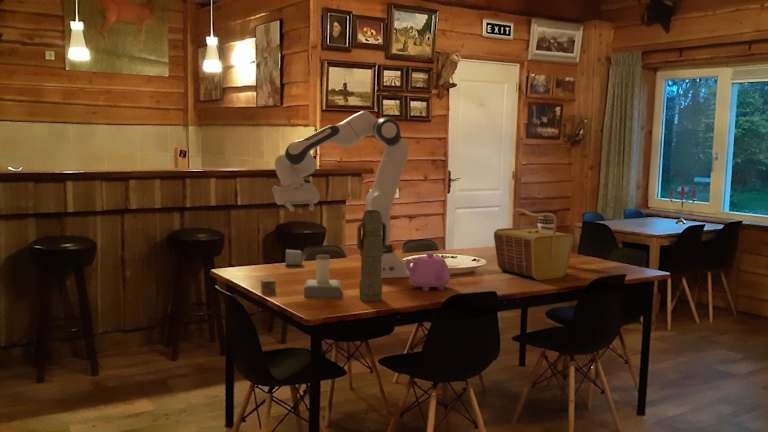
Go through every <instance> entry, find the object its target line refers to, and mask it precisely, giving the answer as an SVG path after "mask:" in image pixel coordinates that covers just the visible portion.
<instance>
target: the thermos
mask: <svg viewBox="0 0 768 432" xmlns="http://www.w3.org/2000/svg"><path fill="white" fill-rule="evenodd" d="M361 219H362V222H361V223H359V224H358V226H357V228H356V229H357V231H356V234H357V235H356V238H357V239H356V240H357V241H356V242H357V243H356V247H357V249H358V250H359V251H360V252H359V254H360V259H361V260H360V262H361V263H360V264H361V265H360V267H361V268H360V281H359V285H358V287H359V289H358V290H359V291H358V292H359V301H361V302H365V303H378V302H380V301H381V302H382V299H383V298H382V295H383V281H382V278H381V258H382V256H383V250H384V248H385V247H386V224H385V223H384V222H382V217H381V214H380V212H379V211H377V210H367V211H366V210H365V211H364V212H363V216H362V218H361ZM381 231H382V234H381Z"/></svg>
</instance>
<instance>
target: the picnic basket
mask: <svg viewBox="0 0 768 432" xmlns="http://www.w3.org/2000/svg"><path fill="white" fill-rule="evenodd" d="M517 212H523V213H524V214H525V215H526V216H529V217H534V218H538V217H543V216H545V215H549V216H552V217H553V218H554V222H553V224H554V226H553V231H547V230H542V229H537V227H536V228H535V227H532V226H520V227H519V226H518V227H517V225H516V224H517V222H516V221H517V219H516V215H517V214H516V213H517ZM557 222H558V221H557V216H556V215H555V214H553V213H550V212H542V213H533V212H530V211H527V210H526V209H523V208H515V209H514V210H513V213H512V227H506V228H497V229H496V230H494V232H493V240H494V247H495V255H496V262H497V266H498V269H499V270H501V271H503V272H508V273H509V272H510V273H513V274H517V275H521V276H524V277H525V276H526V277H528V278H529V277H530V278H532V279H534V280H537V281H543V280H551V279H558V278H559V279H560V278H563V277H564V276H565V275H566V274H567V273H568V268H569V264H570V259H571V255H572V249H573V245H574V240H575V237H574V235H573V234H571V233H562V232H557Z"/></svg>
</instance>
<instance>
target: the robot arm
mask: <svg viewBox="0 0 768 432" xmlns="http://www.w3.org/2000/svg"><path fill="white" fill-rule="evenodd" d="M368 136H372V137H373V138H374V139H376V141H379V142H381V143H383V144H384V151H383V154H382V157H381V159H380V162H379V164H378V168H377V171H376V173H375V176H374V180H373V184H372V186H371V190H370V191H369V192H368V194H367V195H366V197H365V211H367V210H377V211H379V212H380V214H381V217H382V222H384V223H385V224H386V247H385V248H384V250H383V256H382V258H381V279H387V278H388V279H389V278H391V279H393V278H409V274H410V273H409V271H408V270H407V268H406V265H405V262H406V260H404V259H403V258H402V257H400V256H399V255H398V254H397V253H396V252H395V251H396V249H397V247H396V246H395V245H393V244H391V214H390V213H391V212H390V211H391V210H392V209H393V208H392V207H393V204H394V202H395V198H396V194H397V190H398V186H399V183H400V181H401V179H402V178H401V177H402V176H403V175H402V174H403V171H404V169H405V166H406V163H407V159H408V156H409V151H410V144H409V143H408V141H406V139H403V138H402V134H401V127H400V125H399V123H398V121H396V119H394V118H391V117H389V116H387V117H386V116H385V117H380V118H379V117H378V118H377V117H376V118H375V117H374V115H373V114H372V113H371V112H369V111H367V110H362V111H360V112H359V111H358V112H357V113H355V114H353V115H352V116H350V117H348V118H347V119H345V120H343V121H342V122H339V123H337V124H335V125H333V124H332V125H327V126H325V127H323V128H321V129H319V130H318V131H315V132H313V133H312V134H310V135H308V136H306V137H304V138H302V139H299V140H295V141H293V142H291V143H289V144H288V146H287V147H286V149H285V151H284V153H282V154H279V155H278V156H277V157H276V158H275V161H274V167H275V168H274V169H275V173H276V175H277V177H278V178H279V180H280V185H275V186H273V187H272V188H271V192H272V194H273V196H274V200H275V203H276V204H277V205H278V206H280V205H284V206H285V207H286V208H287V209H289V212H294V211H295V207H294V205H300V204H302V205H305V204H309V206H308V209H309V211H314V210H315V206H314V204H317V203H318V202H319V201H320V199H321V196H320V193H319V192H318V190H317V188H316V186H315V185H314V182H313V181H312V180H311V179H306V178H305V177H307V176H309V175H312V174H313V173H314V172H315V171H316V169H317V166H318V165H317V163H318V162H317V161H316V159H315V157H314V155H313V154H311V152H312V151H313V150H315V149H316V148H318V147H321V146H322V145H324V144H326V143H334V144H336V145H338V146H341V147H345V148H348V147H351V146H353V145H355V144H357V143H358V142H360V141H361V140H362V139H364V138H365V137H368ZM381 234H382V231H381Z"/></svg>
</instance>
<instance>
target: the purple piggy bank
mask: <svg viewBox="0 0 768 432" xmlns="http://www.w3.org/2000/svg"><path fill="white" fill-rule="evenodd" d="M425 254H426V255H421V256H417V257H415V259H408V260H407V259H406V260H405V265H406V270H408V271H409V273H410V274H409V277H408V278H409V280H410V282H411V284H413V285H414V287H415V288H422V289H421V291H423V292H429V291H430V288H437V290H440V291H444V290H445V287H444V286H447V285H448V284H449V283H450V280H451V272H450V269H449V266H448V264H447V262H446V260H445V258H444V257H442V256H437V255H435V253H434V252H426V253H425ZM411 264H412V265H411Z"/></svg>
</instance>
